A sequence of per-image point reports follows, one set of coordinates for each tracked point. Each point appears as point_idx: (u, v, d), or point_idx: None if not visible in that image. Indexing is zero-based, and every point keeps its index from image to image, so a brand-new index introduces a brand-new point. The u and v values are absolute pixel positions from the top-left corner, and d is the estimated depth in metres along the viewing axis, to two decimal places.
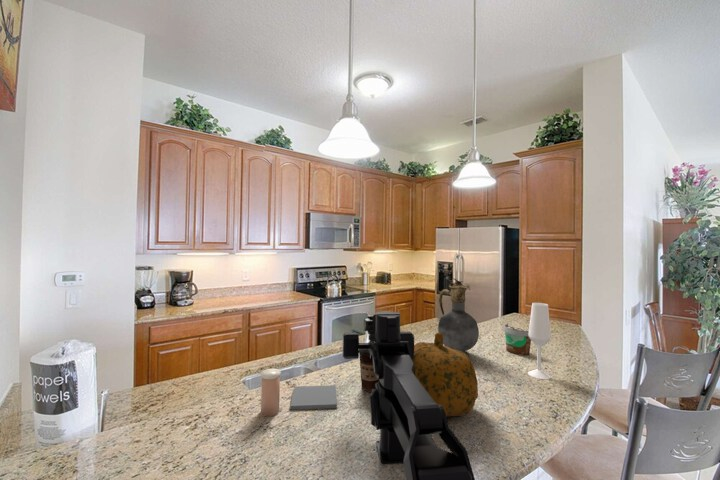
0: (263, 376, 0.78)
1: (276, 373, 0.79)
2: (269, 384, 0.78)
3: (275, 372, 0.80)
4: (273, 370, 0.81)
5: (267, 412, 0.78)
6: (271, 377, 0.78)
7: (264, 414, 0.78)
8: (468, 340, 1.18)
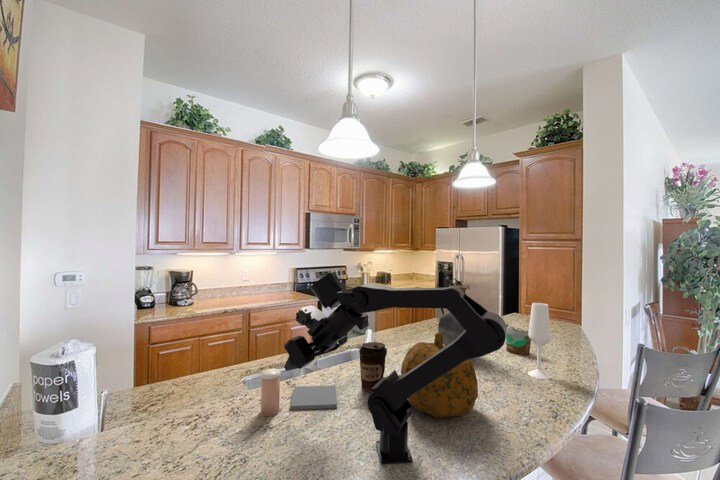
0: (263, 376, 0.78)
1: (276, 373, 0.79)
2: (269, 384, 0.78)
3: (275, 372, 0.80)
4: (273, 370, 0.81)
5: (267, 412, 0.78)
6: (271, 377, 0.78)
7: (264, 414, 0.78)
8: None
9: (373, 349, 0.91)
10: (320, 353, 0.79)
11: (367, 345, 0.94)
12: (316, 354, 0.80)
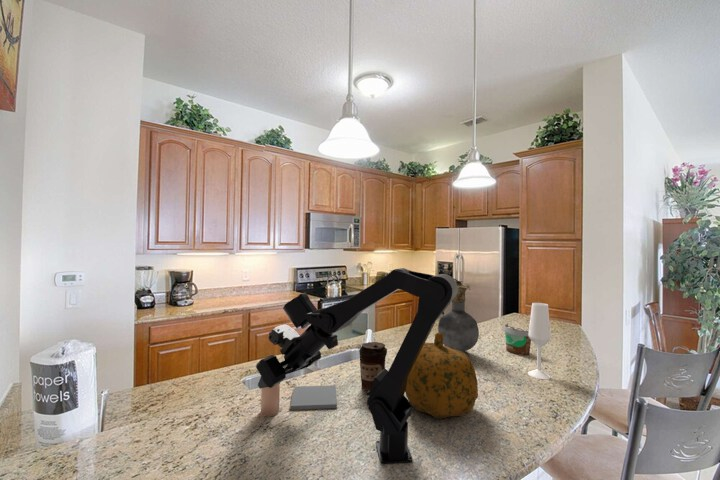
0: None
1: None
2: None
3: None
4: None
5: (267, 412, 0.78)
6: None
7: (264, 414, 0.78)
8: (468, 340, 1.18)
9: (373, 349, 0.91)
10: None
11: (367, 345, 0.94)
12: (290, 370, 0.83)
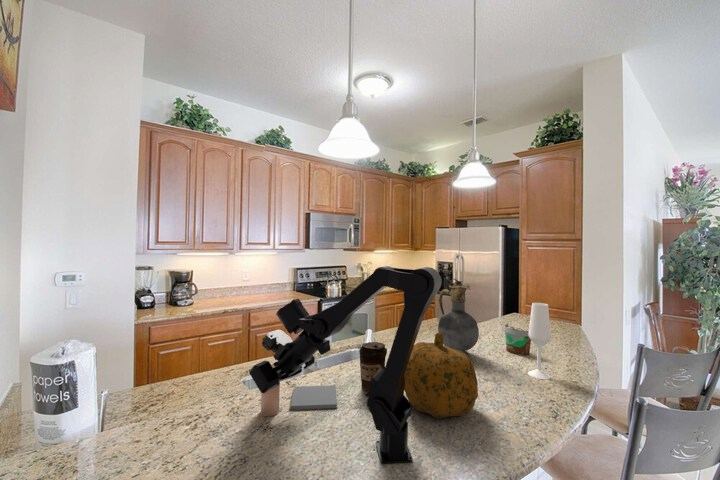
0: None
1: None
2: None
3: None
4: None
5: (267, 412, 0.78)
6: None
7: (264, 414, 0.78)
8: (468, 340, 1.18)
9: (373, 349, 0.91)
10: (283, 377, 0.81)
11: (367, 345, 0.94)
12: (279, 378, 0.82)
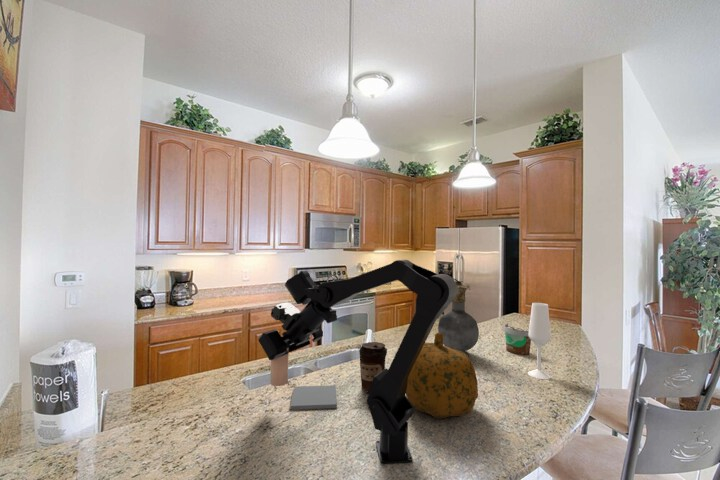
0: None
1: None
2: None
3: None
4: None
5: (276, 382, 0.79)
6: None
7: (273, 384, 0.80)
8: (468, 340, 1.18)
9: (373, 349, 0.91)
10: (292, 349, 0.83)
11: (367, 345, 0.94)
12: None
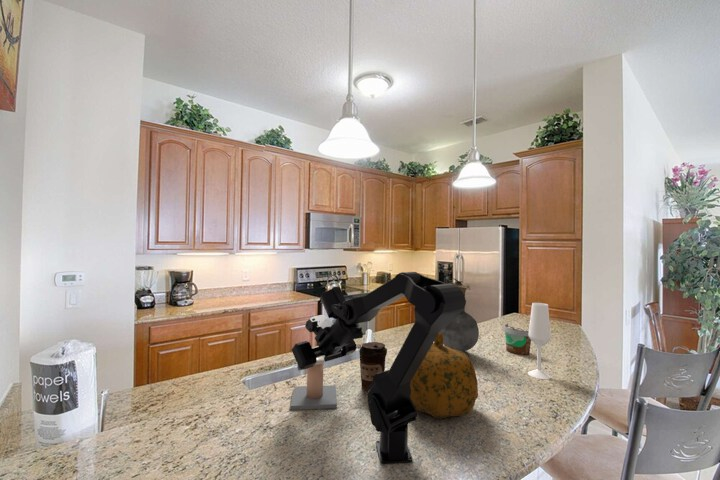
0: None
1: (319, 360, 0.86)
2: (313, 369, 0.85)
3: (319, 359, 0.87)
4: (318, 357, 0.88)
5: (311, 394, 0.85)
6: None
7: (308, 396, 0.85)
8: (468, 340, 1.18)
9: (373, 349, 0.91)
10: (332, 358, 0.89)
11: (367, 345, 0.94)
12: (329, 358, 0.90)
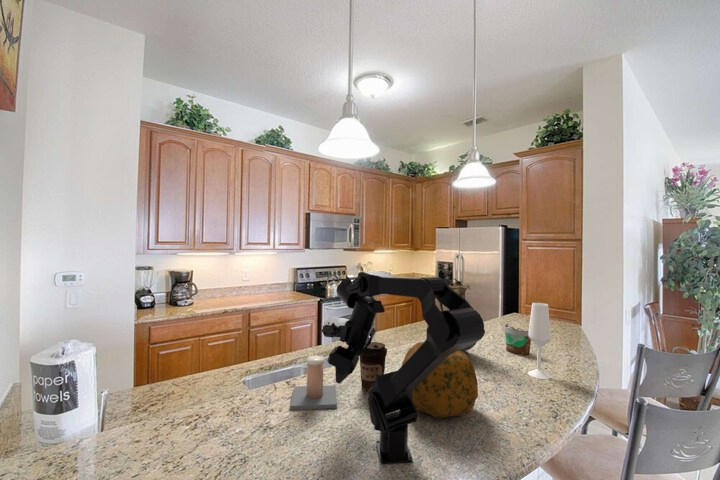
0: (308, 361, 0.86)
1: (319, 360, 0.86)
2: (313, 369, 0.85)
3: (319, 359, 0.87)
4: (318, 357, 0.88)
5: (311, 395, 0.85)
6: (314, 363, 0.85)
7: (308, 396, 0.85)
8: None
9: (373, 349, 0.91)
10: (359, 354, 0.83)
11: None
12: None
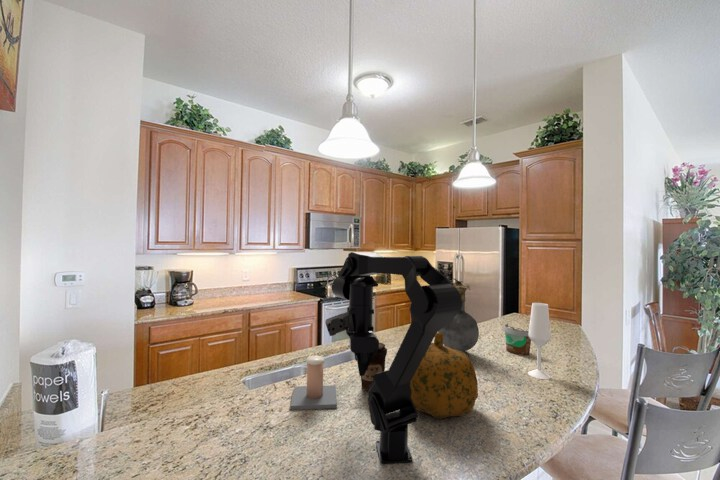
0: (307, 361, 0.86)
1: (319, 360, 0.86)
2: (313, 369, 0.85)
3: (319, 359, 0.87)
4: (318, 357, 0.88)
5: (311, 394, 0.85)
6: (314, 363, 0.85)
7: (308, 396, 0.85)
8: (468, 340, 1.18)
9: None
10: None
11: None
12: None
